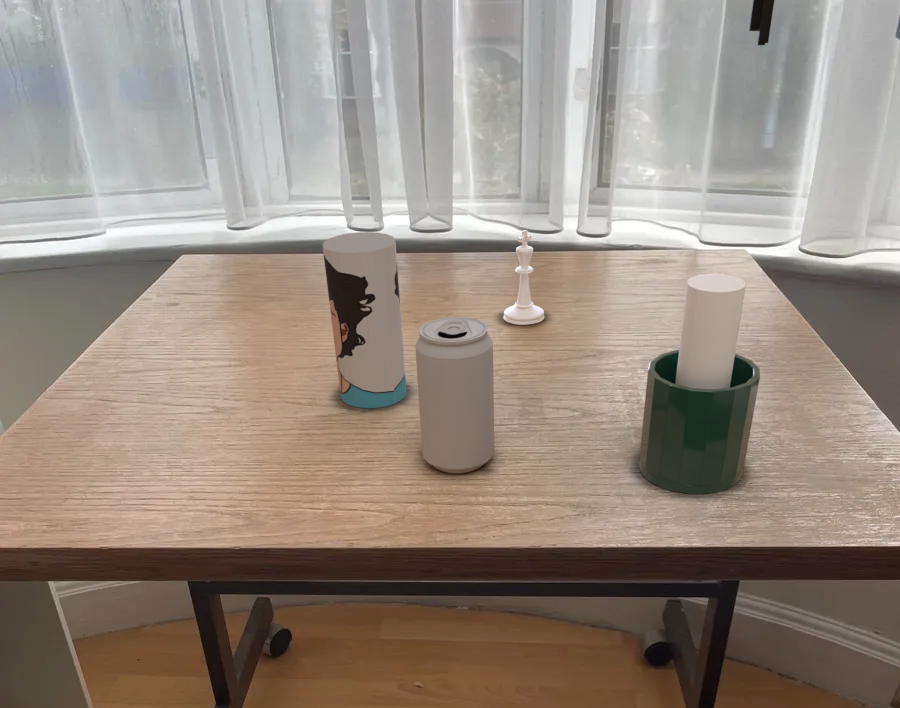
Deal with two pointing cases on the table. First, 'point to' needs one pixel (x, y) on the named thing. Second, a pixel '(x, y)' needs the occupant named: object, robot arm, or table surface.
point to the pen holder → (696, 428)
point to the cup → (366, 318)
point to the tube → (710, 331)
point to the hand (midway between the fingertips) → (831, 41)
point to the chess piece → (524, 289)
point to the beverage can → (456, 393)
